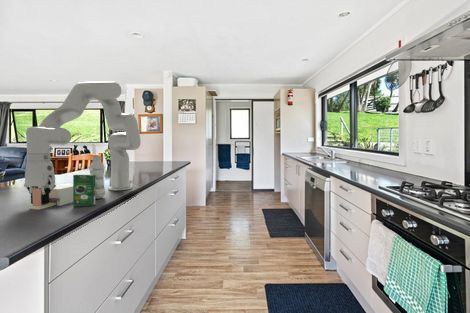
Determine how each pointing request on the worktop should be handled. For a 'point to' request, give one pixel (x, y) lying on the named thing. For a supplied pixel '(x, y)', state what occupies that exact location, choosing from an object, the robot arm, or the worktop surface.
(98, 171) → the plastic bottle
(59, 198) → the dispenser
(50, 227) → the worktop surface
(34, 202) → the block on flat board
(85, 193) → the coffee box
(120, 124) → the robot arm
